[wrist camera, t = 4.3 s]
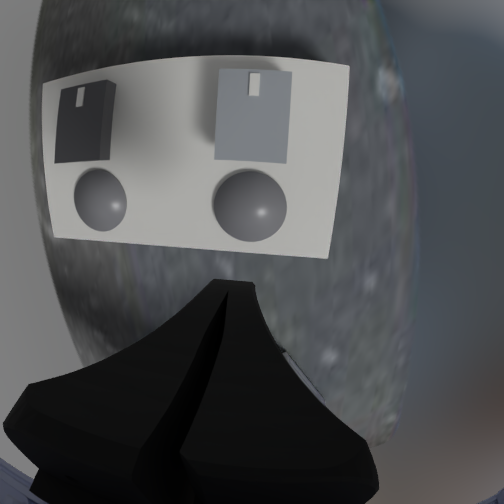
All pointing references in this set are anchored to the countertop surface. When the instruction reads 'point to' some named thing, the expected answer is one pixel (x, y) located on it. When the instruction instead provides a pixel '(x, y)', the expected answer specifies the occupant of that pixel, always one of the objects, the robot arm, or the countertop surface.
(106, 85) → the block
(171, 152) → the switch panel
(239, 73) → the block
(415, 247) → the countertop surface
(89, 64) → the countertop surface
